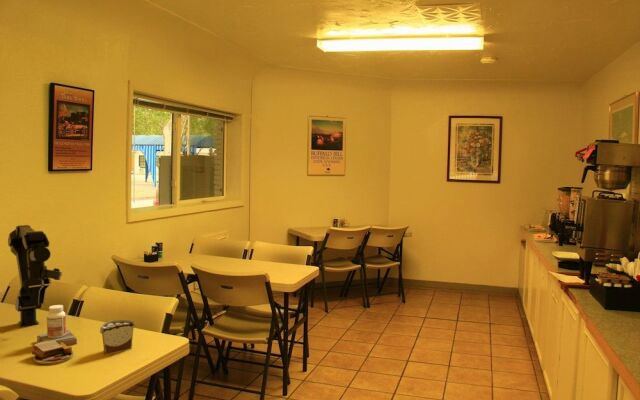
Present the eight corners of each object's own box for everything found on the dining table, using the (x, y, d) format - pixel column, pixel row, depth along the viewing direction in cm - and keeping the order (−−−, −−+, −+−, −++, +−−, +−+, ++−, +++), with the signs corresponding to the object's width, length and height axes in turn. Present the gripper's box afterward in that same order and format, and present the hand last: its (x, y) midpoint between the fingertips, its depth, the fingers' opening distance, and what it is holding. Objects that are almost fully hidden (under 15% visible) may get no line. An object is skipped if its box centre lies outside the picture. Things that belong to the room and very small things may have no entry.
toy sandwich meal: (40, 369, 171) (40, 355, 170) (26, 357, 180) (26, 344, 179) (79, 359, 180) (79, 345, 179) (64, 348, 189) (64, 336, 188)
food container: (127, 343, 195) (127, 317, 195) (135, 347, 191) (135, 321, 190) (94, 351, 187) (94, 323, 186) (101, 356, 182) (101, 327, 182)
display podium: (37, 341, 195) (36, 334, 195) (69, 335, 202) (68, 329, 202) (43, 350, 186) (43, 343, 186) (76, 343, 193) (76, 337, 193)
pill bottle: (56, 332, 198) (56, 303, 197) (69, 334, 196) (69, 305, 195) (43, 337, 192) (42, 307, 191) (56, 339, 190) (56, 309, 189)
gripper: (54, 260, 196) (58, 302, 194) (63, 261, 213) (66, 300, 212) (21, 264, 192) (24, 307, 191) (32, 265, 210) (35, 304, 208)
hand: (39, 304), depth 201 cm, fingers open, 9 cm apart
